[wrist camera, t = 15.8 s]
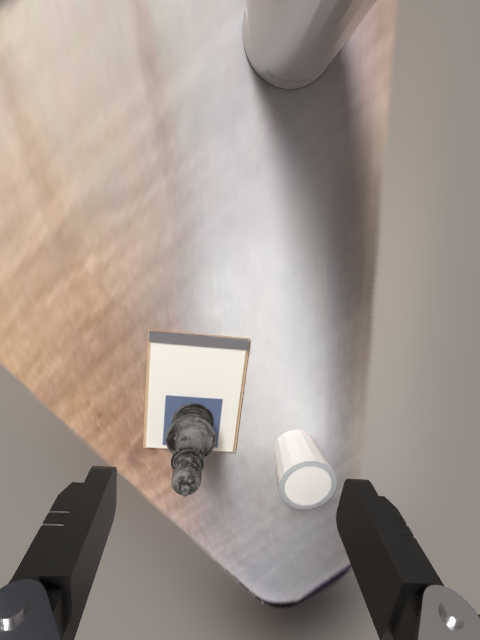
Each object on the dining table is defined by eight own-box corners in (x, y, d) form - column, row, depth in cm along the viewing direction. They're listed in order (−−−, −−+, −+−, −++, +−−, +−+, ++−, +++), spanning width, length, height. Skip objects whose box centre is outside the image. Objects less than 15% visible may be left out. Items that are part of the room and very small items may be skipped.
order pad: (148, 329, 40) (147, 331, 39) (250, 338, 41) (250, 340, 40) (143, 446, 44) (142, 450, 43) (235, 451, 45) (235, 455, 44)
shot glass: (312, 471, 47) (328, 513, 40) (264, 465, 46) (273, 507, 39) (325, 429, 45) (344, 465, 39) (275, 422, 44) (286, 458, 38)
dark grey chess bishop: (225, 423, 43) (229, 497, 31) (191, 449, 44) (182, 531, 32) (194, 392, 41) (186, 458, 30) (159, 420, 42) (138, 495, 31)
